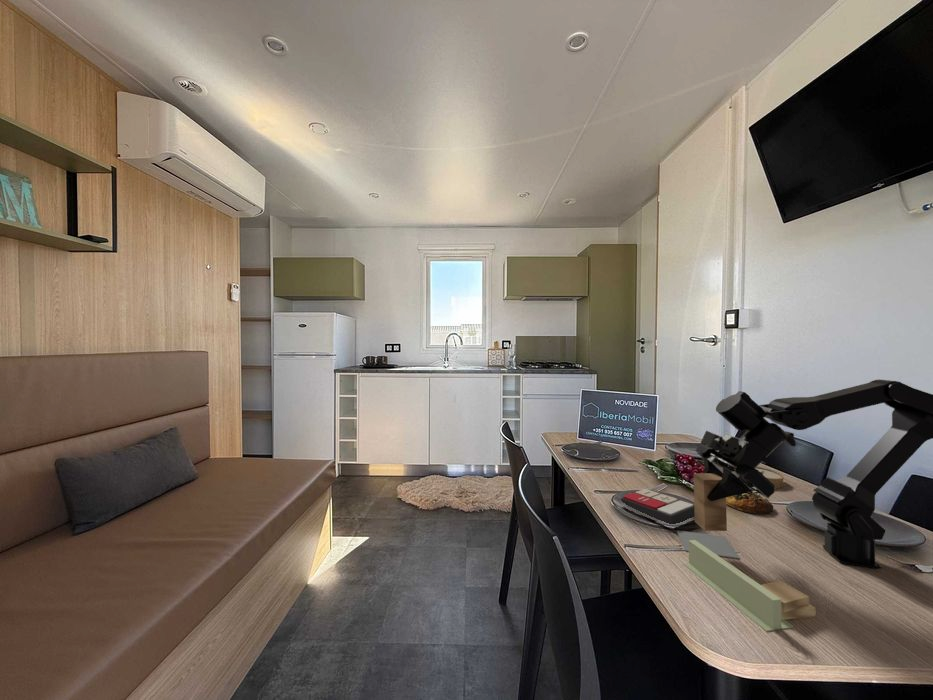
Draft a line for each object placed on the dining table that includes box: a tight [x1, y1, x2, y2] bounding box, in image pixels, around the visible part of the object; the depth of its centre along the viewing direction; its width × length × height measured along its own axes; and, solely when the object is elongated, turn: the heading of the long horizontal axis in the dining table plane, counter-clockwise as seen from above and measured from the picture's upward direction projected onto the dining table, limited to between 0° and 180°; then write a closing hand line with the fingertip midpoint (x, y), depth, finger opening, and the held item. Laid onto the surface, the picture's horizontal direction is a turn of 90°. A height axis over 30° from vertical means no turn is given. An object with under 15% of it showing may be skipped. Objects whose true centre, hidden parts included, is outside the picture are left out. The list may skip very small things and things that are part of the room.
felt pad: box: [676, 529, 741, 560], centre depth 83 cm, size 10×9×1 cm
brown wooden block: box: [693, 472, 728, 532], centre depth 80 cm, size 4×4×11 cm
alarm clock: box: [735, 466, 787, 489], centre depth 119 cm, size 11×5×15 cm
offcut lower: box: [781, 603, 817, 621], centre depth 63 cm, size 7×5×2 cm
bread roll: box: [726, 492, 774, 515], centre depth 102 cm, size 11×11×5 cm
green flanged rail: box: [683, 540, 794, 632], centre depth 67 cm, size 5×18×5 cm, turn 8°
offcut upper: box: [760, 580, 810, 612], centre depth 62 cm, size 6×4×2 cm
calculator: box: [620, 488, 695, 524], centre depth 99 cm, size 11×4×15 cm
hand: (703, 495), depth 80 cm, fingers closed on brown wooden block, 4 cm apart
